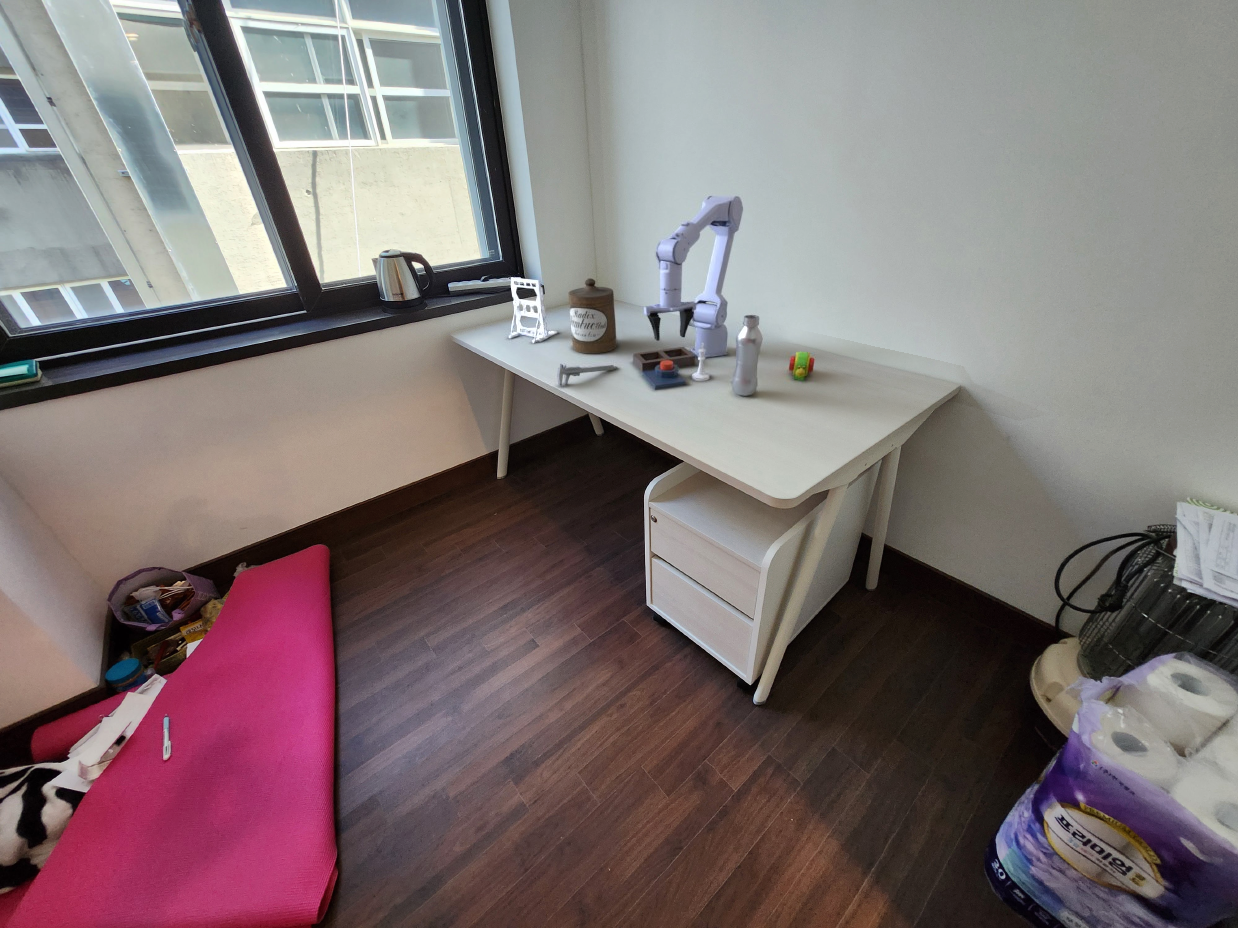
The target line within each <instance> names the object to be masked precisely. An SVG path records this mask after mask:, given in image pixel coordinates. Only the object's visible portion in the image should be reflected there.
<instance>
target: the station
mask: <svg viewBox="0 0 1238 928" xmlns="http://www.w3.org/2000/svg"><path fill="white" fill-rule="evenodd" d="M641 373H642V377H643V378H644V379H645V380H646V381H647V383H649V385H650V386H651V387H652V388H653V389H654V390H660V389H661V390H662V389H669V388H675V387H682V386H686V385H687V381H686V380H685V379H684V378H683V377H682V376H681V375H680V374H679V367H678V366H677V365H674V364H673V369H672V370H668V371H667V370H661V369H660V365H657V366H656V367H655V370H651V371H644V372H641Z"/></svg>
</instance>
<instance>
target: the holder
mask: <svg viewBox="0 0 1238 928" xmlns="http://www.w3.org/2000/svg"><path fill="white" fill-rule="evenodd" d="M664 360H670V361H673V364H674V365H677V366H678V367H679V368H686V367H693V366H696V355H695V354H694V353H692V352H691V351H690V350H689V349H687V348H686V347H684V346H679V347H672V348H663V349H656V350H649V351H641V352H634V353H633V352H632V362H633V365H634V366H635V367H636V368H637V369H638V371H640V372H641V373H642V372H644V371H651V370H655V367H656V366H657V365H660V363H661V361H664Z"/></svg>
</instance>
